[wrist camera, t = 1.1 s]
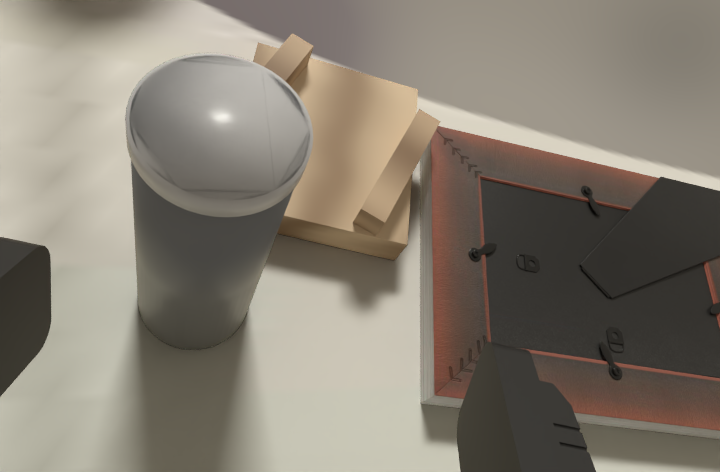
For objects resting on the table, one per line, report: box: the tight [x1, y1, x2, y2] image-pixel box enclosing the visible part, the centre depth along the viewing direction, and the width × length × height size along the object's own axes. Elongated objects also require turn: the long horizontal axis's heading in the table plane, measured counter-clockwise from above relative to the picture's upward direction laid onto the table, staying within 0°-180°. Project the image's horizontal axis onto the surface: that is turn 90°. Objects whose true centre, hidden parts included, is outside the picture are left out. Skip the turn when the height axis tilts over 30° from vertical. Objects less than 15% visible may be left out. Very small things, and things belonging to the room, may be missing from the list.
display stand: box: [253, 34, 440, 260], centre depth 34 cm, size 12×11×4 cm
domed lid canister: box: [125, 53, 313, 350], centre depth 24 cm, size 5×5×14 cm
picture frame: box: [420, 126, 720, 439], centre depth 37 cm, size 16×2×22 cm
